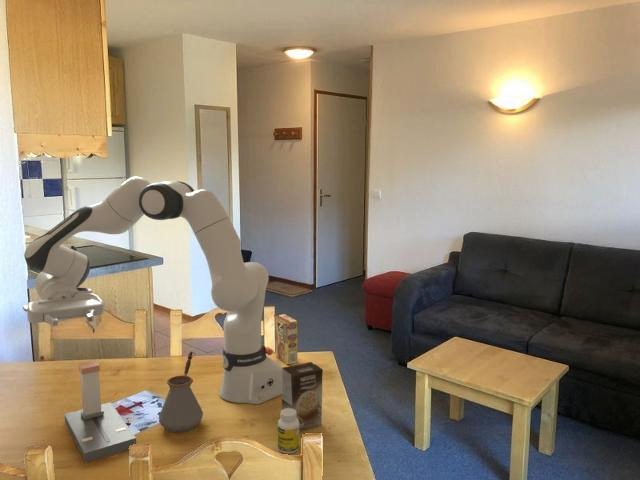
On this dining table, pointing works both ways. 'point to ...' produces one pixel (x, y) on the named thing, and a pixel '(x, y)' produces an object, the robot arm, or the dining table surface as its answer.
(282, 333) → the candy box
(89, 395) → the fader knob
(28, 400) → the dining table surface
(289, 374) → the coffee box
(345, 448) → the dining table surface
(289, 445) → the supplement bottle
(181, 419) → the coffee pot
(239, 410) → the dining table surface
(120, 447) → the fader console
